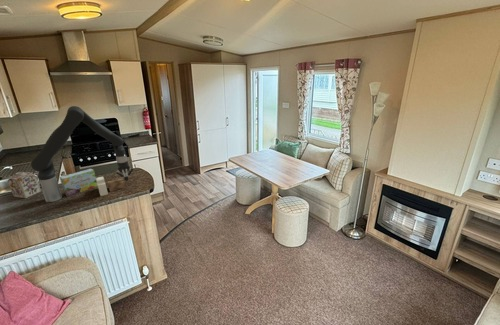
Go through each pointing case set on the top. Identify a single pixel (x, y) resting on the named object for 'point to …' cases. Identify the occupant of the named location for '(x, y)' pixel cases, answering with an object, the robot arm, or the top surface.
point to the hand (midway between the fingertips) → (126, 180)
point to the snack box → (78, 182)
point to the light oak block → (116, 184)
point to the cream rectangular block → (102, 186)
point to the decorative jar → (24, 184)
